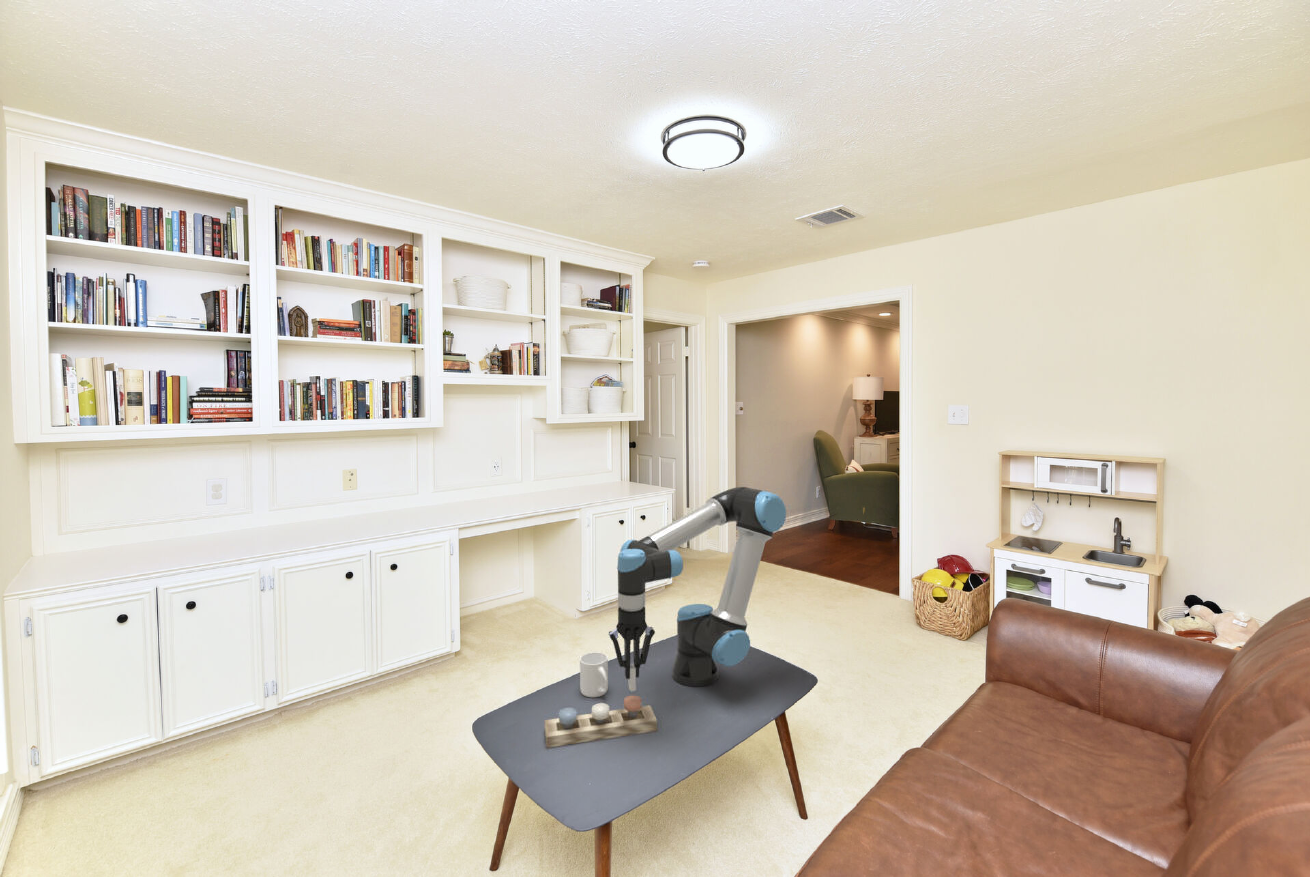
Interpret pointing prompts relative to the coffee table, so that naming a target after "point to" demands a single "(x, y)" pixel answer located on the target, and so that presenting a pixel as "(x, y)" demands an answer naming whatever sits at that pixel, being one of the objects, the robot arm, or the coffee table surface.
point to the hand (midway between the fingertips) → (632, 688)
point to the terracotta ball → (632, 705)
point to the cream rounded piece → (600, 713)
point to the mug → (594, 674)
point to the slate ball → (567, 717)
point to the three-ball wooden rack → (600, 727)
